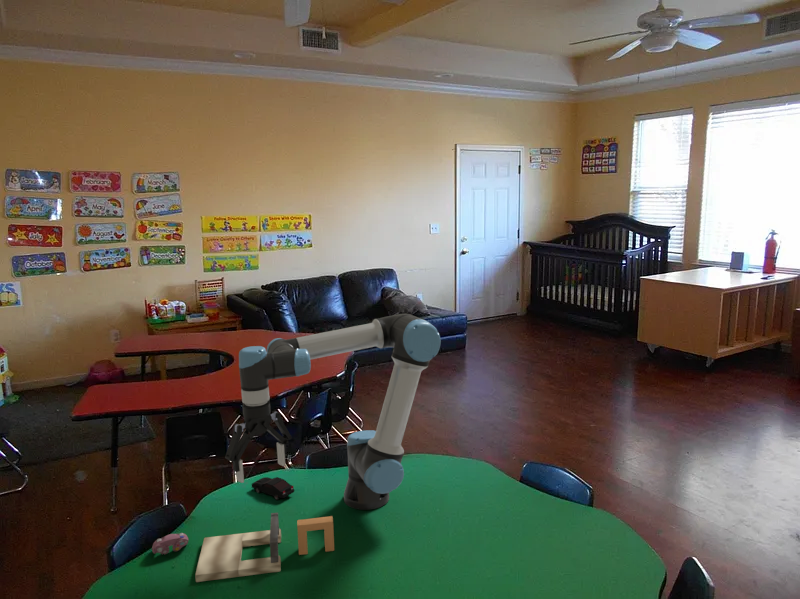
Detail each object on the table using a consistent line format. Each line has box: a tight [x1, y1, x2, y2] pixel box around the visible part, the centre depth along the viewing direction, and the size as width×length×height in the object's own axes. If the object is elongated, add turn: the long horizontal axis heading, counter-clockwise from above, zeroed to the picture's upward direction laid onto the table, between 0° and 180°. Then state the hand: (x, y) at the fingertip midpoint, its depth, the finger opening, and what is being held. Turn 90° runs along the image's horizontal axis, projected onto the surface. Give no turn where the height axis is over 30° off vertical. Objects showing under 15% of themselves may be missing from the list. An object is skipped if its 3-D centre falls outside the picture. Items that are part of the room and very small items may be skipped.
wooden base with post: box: [195, 512, 282, 583], centre depth 167 cm, size 22×18×8 cm
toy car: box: [251, 476, 296, 501], centre depth 203 cm, size 7×16×5 cm, turn 56°
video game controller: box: [151, 532, 189, 555], centre depth 170 cm, size 10×5×7 cm, turn 118°
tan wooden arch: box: [296, 515, 335, 556], centre depth 170 cm, size 10×3×9 cm, turn 101°
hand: (261, 472), depth 170 cm, fingers open, 13 cm apart
